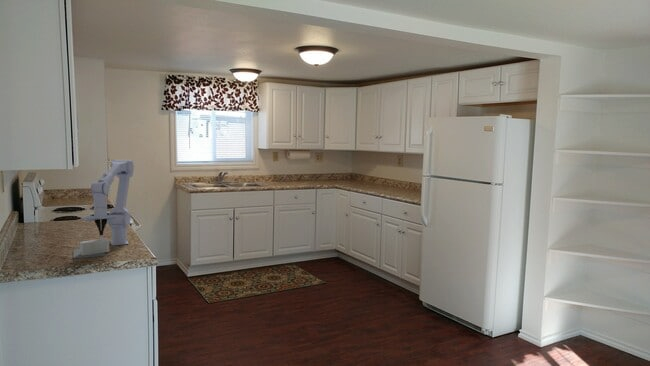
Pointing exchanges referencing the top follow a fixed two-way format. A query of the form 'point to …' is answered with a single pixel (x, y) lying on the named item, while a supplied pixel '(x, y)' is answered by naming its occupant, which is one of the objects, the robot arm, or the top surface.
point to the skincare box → (94, 247)
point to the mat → (78, 255)
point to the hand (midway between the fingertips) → (101, 234)
